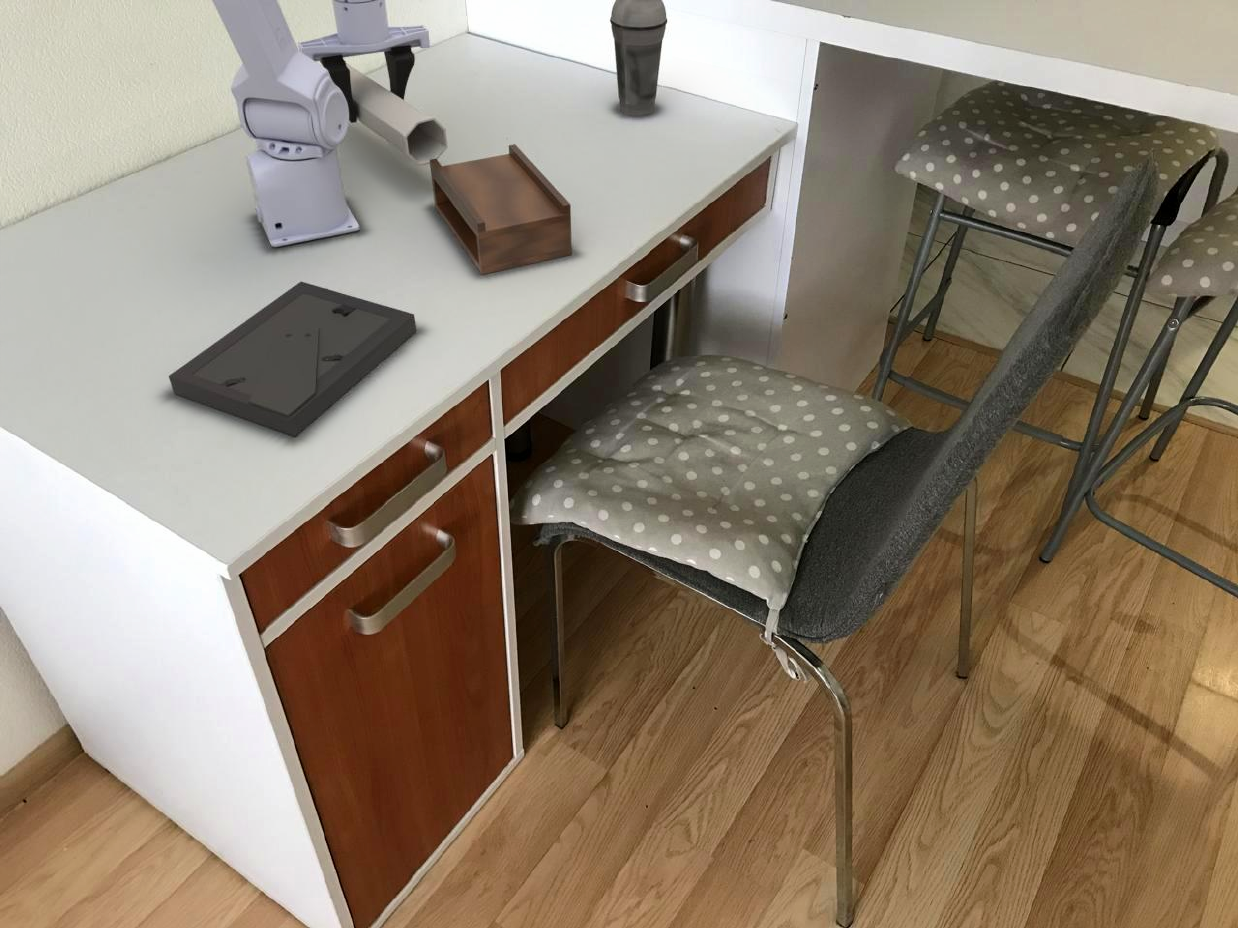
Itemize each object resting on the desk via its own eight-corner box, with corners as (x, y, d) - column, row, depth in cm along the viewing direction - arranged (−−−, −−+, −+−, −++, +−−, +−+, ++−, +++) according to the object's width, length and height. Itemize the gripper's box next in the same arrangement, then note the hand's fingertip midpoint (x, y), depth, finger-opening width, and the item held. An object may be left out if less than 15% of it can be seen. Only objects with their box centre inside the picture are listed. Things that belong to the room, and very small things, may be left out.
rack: (482, 274, 108) (477, 223, 104) (434, 208, 119) (429, 159, 115) (571, 254, 111) (570, 204, 107) (518, 191, 122) (515, 144, 118)
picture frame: (295, 437, 88) (416, 331, 100) (289, 416, 86) (413, 311, 99) (173, 394, 92) (304, 297, 104) (166, 373, 91) (300, 278, 103)
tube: (302, 68, 129) (397, 134, 114) (338, 46, 131) (436, 109, 115) (322, 106, 133) (416, 174, 118) (357, 84, 135) (454, 149, 119)
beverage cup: (602, 102, 142) (602, -58, 129) (653, 96, 144) (658, -62, 131) (619, 123, 137) (620, -41, 124) (671, 117, 139) (678, -46, 126)
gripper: (411, -22, 121) (424, 94, 130) (284, -7, 116) (306, 113, 125) (429, -5, 116) (442, 115, 125) (297, 12, 112) (320, 135, 120)
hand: (375, 115), depth 125 cm, fingers closed on tube, 5 cm apart
